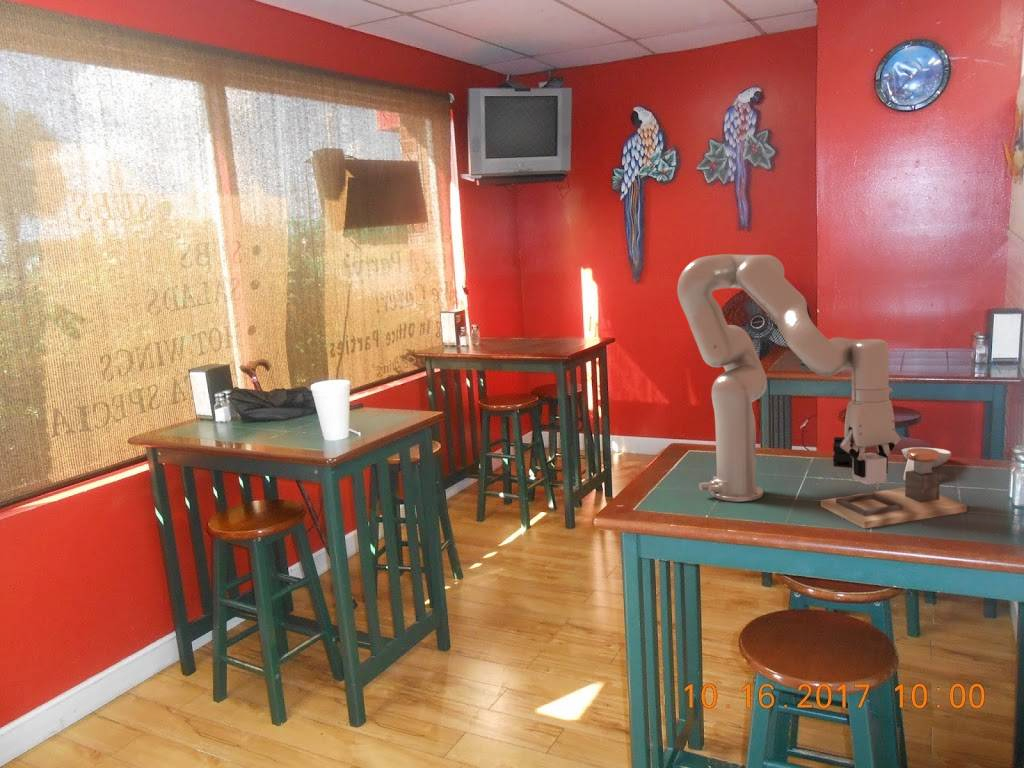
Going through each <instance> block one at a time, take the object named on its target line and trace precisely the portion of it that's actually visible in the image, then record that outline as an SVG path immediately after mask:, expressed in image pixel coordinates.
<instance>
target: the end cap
mask: <svg viewBox="0 0 1024 768" xmlns="http://www.w3.org/2000/svg"><path fill="white" fill-rule="evenodd" d="M843 440H844V436H843V437H841V436H834V438H833V445H832V451H833V457H832V458H833V459H832V460H833V464H832V465H833V467H840V468H851V467H852V468H853V458H852V457H851V456H850V455H849V454H848V453H847V452H846V451H845V450H843V449H842V448H841V447H840V445H841V443H842V441H843ZM850 447H851V448H852V447H853V444H850ZM858 450H859V448H858Z"/></svg>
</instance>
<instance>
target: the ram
mask: <svg viewBox="0 0 1024 768" xmlns="http://www.w3.org/2000/svg"><path fill="white" fill-rule="evenodd" d="M914 448H915V447H914ZM925 448H926V447H921V448H917V447H916V448H915V449H910V450H908V451H907V458H908V459H910V460H912V461H914V473H916V474H918V475H921V476H923V475H929V474H932V472H933V471H932V462H934V461H937V460H939V452H938V451H936V450H932V449H925Z"/></svg>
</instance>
